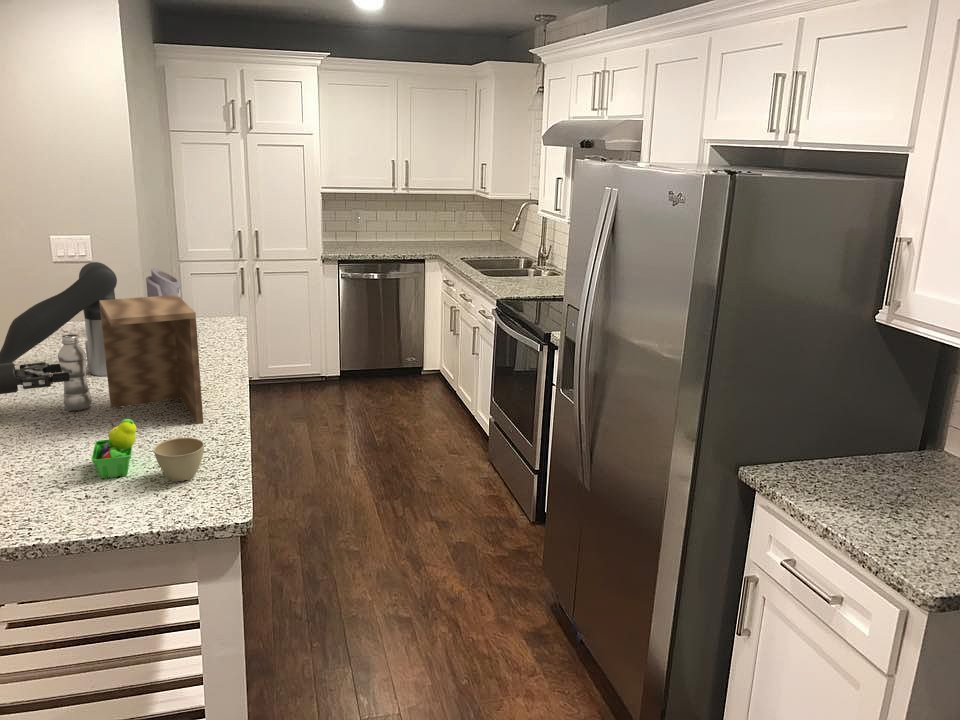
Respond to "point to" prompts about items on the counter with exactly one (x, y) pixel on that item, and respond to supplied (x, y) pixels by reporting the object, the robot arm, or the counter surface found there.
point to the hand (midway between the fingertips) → (67, 371)
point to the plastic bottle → (74, 373)
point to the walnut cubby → (151, 352)
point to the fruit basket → (115, 450)
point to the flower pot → (179, 457)
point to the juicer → (162, 284)
